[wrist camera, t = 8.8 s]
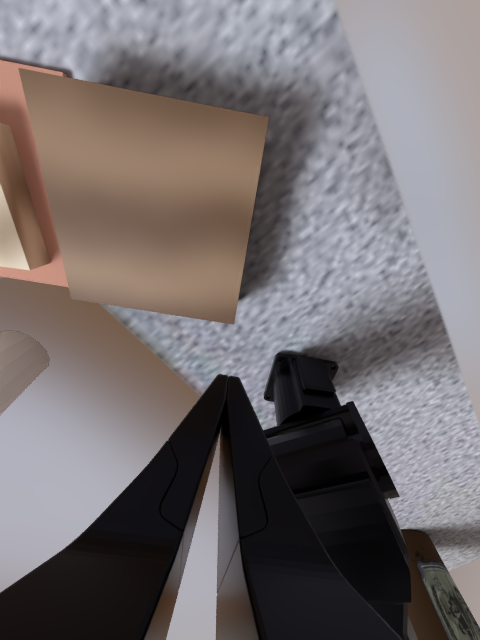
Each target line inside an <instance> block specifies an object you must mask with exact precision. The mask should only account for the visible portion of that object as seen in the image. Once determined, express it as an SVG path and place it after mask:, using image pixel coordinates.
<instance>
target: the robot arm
mask: <svg viewBox="0 0 480 640" xmlns="http://www.w3.org/2000/svg"><path fill="white" fill-rule="evenodd" d="M279 358H282V359H279ZM332 366H334V367H332ZM338 368H339V367H338V365H337V363H336V362H333V361H326V360H322V359H315V358H309V357H302V356H294V355H287V354H277V355H276V356H275V359H274V362H273V365H272V369H271V372H270V375H269V379H268V382H267V385H266V389H265V392H264V399H265V400H267V401H273V402H274V404H275V413H276V422H277V426H276V427H272V428H269V429H266V430H263V429H262V427H261V425H260V423H259V420H258V418H257V416H256V414H255V411H254V409H253V407H252V405H251V402H250V400H249V398H248V396H247V394H246V391H245V389H244V387H243V385H242V382H241V380H240V378H239V377H235V376H229V378H228V375H222V374H219V375H217V377H216V378H215V379H214V380H213V382H212V383H211V384H210V386H209V387H208V388H207V390H206V391H205V392H204V393H203V395H202V396H201V397H200V399H199V400H198V401H197V403H196V404H195V405H194V406H193V408H192V409H191V410H190V412H189V413H188V414H187V416H186V417H185V418H184V419H183V421H182V422H181V423H180V425H179V426H178V427H177V429H176V430H175V431H174V432H173V434H172V435H171V436H170V438H169V440H168V441H166V443H165V444H164V445H163V446H162V448H161V449H160V451H159V452H158V453H157V454H156V455H155V456H154V458H153V459H152V460H151V461H150V463H149V464H148V465H147V466H146V467H145V468H144V469H143V471H142V472H141V473H140V474H139V475H138V476H137V477H136V478H135V479H134V480H133V481H132V483H130V485H129V486H128V487H127V488H126V489H125V490H124V491H123V492H122V493H121V494H120V495H119V496H118V497H117V498H116V499H115V500H114V501H113V502H112V503H111V504H110V505H109V506H108V508H107V509H106V510H105V511H104V512H103V513H102V514H101V515H100V516H99V517H98V518H97V519H96V520H95V521H94V522H93V523H92V524H91V525H90V526H89V527H88V528H87V529H86V530H85V531H84V532H83V533H82V534H81V535H80V536H79V537H78V538H76V539H75V540H74V541H73V542H72V543H71V544H69V545H68V546H67V547H66V548H64V549H63V550H62V551H60V552H59V553H57V554H56V555H55V556H53V557H52V558H50V559H49V560H47V561H46V562H44V563H43V564H41V565H40V566H39V567H37V568H36V569H34V570H33V571H31V572H30V573H28V574H27V575H25V576H24V577H22V578H21V579H20V580H18V581H17V582H15V583H14V584H12V585H11V586H9V587H8V588H6V589H5V590H4V591H2V592H1V593H0V640H166V637H167V633H168V629H169V626H170V622H171V618H172V614H173V610H174V606H175V603H176V599H177V595H178V590H179V587H180V584H181V579H182V576H183V572H184V568H185V565H186V561H187V557H188V553H189V549H190V545H191V542H192V538H193V534H194V530H195V526H196V522H197V519H198V515H199V511H200V507H201V504H202V500H203V495H204V492H205V488H206V484H207V481H208V477H209V473H210V469H211V465H212V462H213V458H214V454H215V450H216V446H217V442H218V438H219V434H220V466H219V515H218V516H219V517H218V564H217V594H218V595H217V609H216V640H418V639H417V636H416V634H415V631H414V629H413V626H412V624H411V621H410V619H409V617H408V603H411V576H410V570H409V552H408V549H407V547H406V544H405V541H404V538H403V536H402V533H401V530H400V527H399V525H398V522H397V519H396V517H395V514H394V512H393V510H392V508H391V506H390V503H389V501H388V498H390V499H391V498H396V497H400V496H399V494H398V492H397V490H396V488H395V486H394V484H393V482H392V479H391V477H390V475H389V473H388V471H387V469H386V467H385V465H384V463H383V461H382V459H381V457H380V455H379V453H378V451H377V449H376V446H375V444H374V442H373V440H372V438H371V436H370V434H369V432H368V430H367V428H366V426H365V424H364V422H363V420H362V418H361V416H360V414H359V412H358V410H357V408H356V406H355V404H354V402H353V401H351V402H348V403H346V405H343V406H341V404H340V402H339V400H338V397H337V395H336V393H335V392H336V389H335V387H334V384H333V382H332V380H333V378H334V376H335V374H336V372H337V370H338ZM220 429H221V432H220Z"/></svg>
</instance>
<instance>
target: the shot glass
mask: <svg viewBox="0 0 480 640" xmlns="http://www.w3.org/2000/svg"><path fill="white" fill-rule="evenodd" d="M47 366H49V356H48V354H47V351H46V350H45V349H44V348H43V346H42V345H41V344H40V343H39V342H38V341H36V340H34V339H33V338H32V337H30V336H28V335H26V334H23V333H21V332H18V331H10V330H5V331H3V332H0V415H1V414H2V413H3V412H4V411H5V410H6V409H7V408H8V407H9V406H10V405H11V403H13V402H14V401H15V400H16V398H17V397H18V396H19V395H20V394H21V393H22V392H23V391H24V390H25V389H26V388H27V387H28V386H29V385H30V384H31V383H32V382H33V381H34V380H35V379H36V378H37V377H38V376H39V375H40V374H41V373H42V372H43V371H44V369H46V367H47Z"/></svg>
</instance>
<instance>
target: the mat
mask: <svg viewBox="0 0 480 640" xmlns="http://www.w3.org/2000/svg"><path fill="white" fill-rule="evenodd" d="M18 68H22V69H27V70H32V71H37V72H42V73H47V74H52V75H58V76H63V77H67V75H66V74H64V73H63V72H58V71H53V70H48V69H43V68H38V67H33V66H28V65H23V64H18V63H13V62H8V61H3V60H0V123H3V124H6V125H10V127H11V131H12V134H13V138H14V141H15V144H16V148H17V151H18V155H19V158H20V162H21V165H22V168H23V172H24V175H25V179H26V182H27V186H28V189H29V192H30V196H31V199H32V203H33V206H34V209H35V213H36V216H37V220H38V223H39V227H40V230H41V233H42V237H43V240H44V244H45V247H46V250H47V254H48V257H49V261H50V263H49V264H47V265H44V266H41V267H38V268H35V269H32V270H24V269H16V268H8V267H1V266H0V276H2V277H8V278H15V279H21V280H27V281H34V282H40V283H47V284H52V285H59V286H65V287H68V282H67V278H66V274H65V269H64V265H63V261H62V256H61V252H60V248H59V243H58V239H57V234H56V230H55V226H54V221H53V217H52V213H51V208H50V204H49V200H48V195H47V191H46V187H45V182H44V178H43V174H42V169H41V165H40V161H39V156H38V152H37V147H36V143H35V139H34V134H33V130H32V126H31V121H30V117H29V113H28V108H27V104H26V100H25V95H24V91H23V87H22V82H21V78H20V74H19V69H18Z"/></svg>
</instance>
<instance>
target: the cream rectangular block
mask: <svg viewBox="0 0 480 640" xmlns="http://www.w3.org/2000/svg"><path fill="white" fill-rule="evenodd" d="M49 263H50V261H49V257H48V254H47V250H46V247H45V244H44V240H43V237H42V233H41V230H40V227H39V223H38V220H37V216H36V213H35V209H34V206H33V203H32V199H31V196H30V192H29V189H28V186H27V182H26V179H25V175H24V172H23V168H22V165H21V162H20V158H19V155H18V151H17V148H16V144H15V141H14V138H13V134H12V131H11V127H10V125H6V124H3V123H0V266H1V267H8V268H16V269H24V270H32V269H35V268H38V267H41V266H44V265H47V264H49Z"/></svg>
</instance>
